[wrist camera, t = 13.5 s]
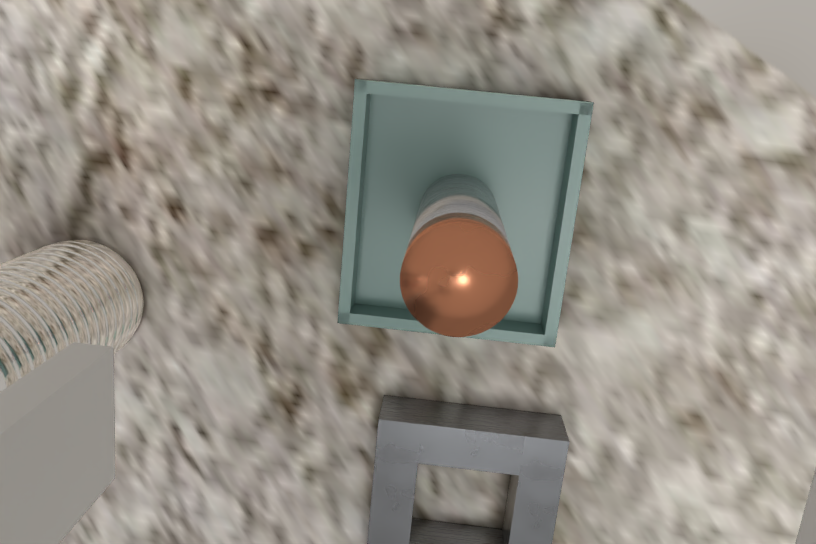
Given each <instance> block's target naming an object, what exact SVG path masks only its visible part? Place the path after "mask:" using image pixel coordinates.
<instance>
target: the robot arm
mask: <svg viewBox="0 0 816 544" xmlns="http://www.w3.org/2000/svg"><path fill="white" fill-rule="evenodd" d="M114 479H115V410H114V347H111V346H102V345H93V344H85V343H76V342H73V343H72V344H70V345H69V346H67V347H66V348H64V349H63V350H61V351H60V352H59V353H57V354H56V355H54V356H53V357H51V358H50V359H48V360H47V361H45V362H44V363H42V364H41V365H39V366H38V367H36V368H35V369H34V370H32V371H31V372H29V373H28V374H26V375H25V376H23V377H22V378H20V379H19V380H17V381H16V382H14V383H13V384H11V385H10V386H9V387H7V388H6V389H4V390H3V391H1V392H0V544H59V543H60V542H61V541H62V539H63V538H64V537H65V536H66V535H67V534H68V532H69V531H70V530H71V529H72V528H73V527H74V525H75V524H76V523H77V522H78V521H79V520H80V518H81V517H82V516H83V515H84V514H85V513H86V511H87V510H88V509H89V508H90V507H91V506H92V504H93V503H94V502H95V501H96V500H97V499H98V497H99V496H100V495H101V494H102V493H103V492H104V490H105V489H106V488H107V487H108V486H109V485H110V483H111V482H112V481H113V480H114ZM795 544H816V469H815V473H814V476H813V480H812V484H811V487H810V491H809V495H808V499H807V502H806V506H805V510H804V513H803V517H802V521H801V524H800V528H799V532H798V535H797V539H796V543H795Z"/></svg>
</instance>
